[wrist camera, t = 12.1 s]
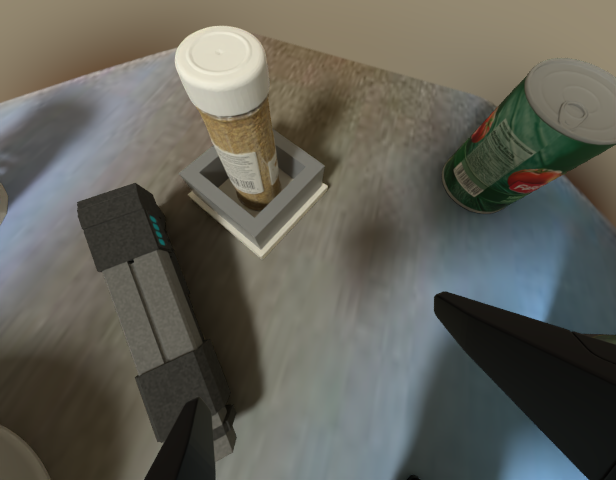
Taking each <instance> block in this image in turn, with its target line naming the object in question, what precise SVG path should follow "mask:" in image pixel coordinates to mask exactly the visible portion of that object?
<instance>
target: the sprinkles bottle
mask: <svg viewBox="0 0 616 480" xmlns="http://www.w3.org/2000/svg"><path fill="white" fill-rule="evenodd" d="M175 65H176V69H177V72H178V74H179V76H180V79H181V81H182V83H183V85H184V88H185V90H186V92H187V94H188V96H189V98H190V100H191V101H192V102H193V104H194V105H195V106H196V108H197V109H198V110H199V112H200V114H201V116H202V118H203V120H204V123H205V125H206V127H207V129H208V132H209V135H210V138H211V141H212V143H213V145H214V147H215V149H216V151H217V153H218V155H219V158H220V160H221V162H222V164H223V166H224V168H225V170H226V172H227V174H228V176H229V179H230V181H231V182H232V184H233V185H234V187H235V189H236V194H237V197H238V199H239V201H240V202H241V203H242V204H243V205H244V206H246V207H248V208H249V209H253V210H263V209H264V208H265V207H266V206H267V205H268V204H269V203H270V202H271V201H272V200H273V199H274V198H275V197H276V196H277V195H278V194H279V193H280V192H281V191H282V189H281V183H280V180H279V175H278V172H279V170H278V162H277V155H276V148H275V140H274V134H273V130H272V125H271V117H270V110H269V103H268V95H269V94H268V91H269V87H270V82H269V73H268V66H267V59H266V54H265V50H264V48H263V46H262V44H261V43H260V41H259V40H258V39H257V38H256V37H255V36H253V35H252V34H250V33H249V32H247V31H245V30H242V29H239V28H235V27H230V26H214V27H208V28H204V29H201V30H198V31H196V32H194V33H193V34H191V35H189V36H188V37H187V38H186V39H184V41H182V43H181V44H180V45H179V47H178V49H177V51H176V55H175Z"/></svg>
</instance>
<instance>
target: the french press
mask: <svg viewBox="0 0 616 480" xmlns="http://www.w3.org/2000/svg"><path fill="white" fill-rule="evenodd" d="M7 206H8V195H7V193H6V191H5V189H4V187H3V185H2V183H0V225H1V223H2V221H3V219H4V217H5V215H6V214H7Z"/></svg>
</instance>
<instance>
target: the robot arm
mask: <svg viewBox="0 0 616 480" xmlns="http://www.w3.org/2000/svg"><path fill="white" fill-rule="evenodd" d="M434 312H435V315H436V316H437V318H438V319H439V320H440V321H441V323H442V324H443V325H444V326H445V328H446V329H447V330H448V331H449V333H450V334H451V335H452V336H453V338H454V339H455V340H456V341H457V343H458V344H459V345H460V346H461V347H462V349H463V350H464V351H465V352H466V353H467V354H468V355H469V356H470V357H471V358H472V359H473V360H474V361H475V362H476V364H477V365H478V366H479V367H480V368H481V369H482V370H483V371H484V372H485V373H486V374H487V375H488V376H489V377H490V378H491V379H492V380H493V381H494V382H495V383H496V384H497V385H498V386H499V387H500V388H501V389H502V390H503V391H504V392H505V394H506V395H507V396H508V397H509V398H510V399H511V400H512V401H513V402H514V403H515V404H516V405H517V406H518V407H519V408H520V409H521V410H522V411H523V412H524V413H525V414H526V415H527V416H528V417H529V418H530V419H531V420H532V421H533V422H534V424H535V425H536V426H537V427H538V428H539V429H540V430H541V431H542V432H543V433H544V434H545V435H546V436H547V437H548V438H549V439H550V440H551V441H552V442H553V443H554V444H555V445H556V446H557V447H558V448H559V449H560V450H561V451H562V452H563V454H564V455H565V456H566V457H567V458H568V459H569V460H570V461H571V462H572V463H573V464H574V465H575V466H576V467H577V468H578V469H579V470H580V471H581V472H582V473H583V474H584V475H585V476H586V477H587V478H588V479H589V480H616V344H613V343H610V342H606V341H603V340H600V339H596V338H593V337H590V336H586V335H583V334H580V333H577V332H574V331H572V332H571V331H570V330H567V329H564V328H561V327H558V326H554V325H551V324H548V323H545V322H542V321H538V320H535V319H532V318H529V317H526V316H522V315H519V314H516V313H513V312H510V311H507V310H503V309H500V308H497V307H494V306H491V305H487V304H484V303H481V302H478V301H475V300H471V299H468V298H465V297H462V296H459V295H455V294H452V293H449V292H441V293H439V294H436V295H435V296H434ZM144 480H215V454H214V440H213V426H212V415H211V411H210V409H209V408H208V407H207V405H206V404H205V403H204V401H203V400H202V399H201V398H200V397H196V398H194V399H192V400H189V401H188V402H186V403H185V405H184V406H183V408H182V410H181V412H180V414H179V416H178V418H177V419H176V421H175V423H174V425H173V427H172V429H171V431H170V432H169V434H168V436H167V438H166V440H165V442H164V444H163V445H162V447H161V449H160V451H159V453H158V455H157V457H156V458H155V460H154V462H153V464H152V466H151V468H150V470H149V471H148V473H147V475H146V477H145V479H144ZM407 480H421V479H419V478H418V477H417V476H416V475H410V476H409V477H408V479H407Z"/></svg>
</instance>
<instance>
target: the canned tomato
mask: <svg viewBox="0 0 616 480" xmlns="http://www.w3.org/2000/svg"><path fill="white" fill-rule="evenodd" d="M614 145H616V77H615V76H613V75H612V74H610V73H609V72H607V71H605V70H603V69H601V68H599V67H597V66H595V65H592V64H590V63H587V62H584V61H580V60H576V59H568V58H555V59H549V60H546V61H543V62H540V63H539V64H537V65H536V66H535V67H533V68H532V70H531V71H530V72H529V73H528V74H527V76H526V77H525V78H524V80H522V81H521V82H520V84H519V85H518V86H517V87H516V88H514V90H513V91H512V92H511V93H510V94H509V95H508V96H507V97H506V98H505V99H504V101H503V102H502V103H501V104H500V105H499V106H498V107H497V108H496V109H495V111H494V112H492V113H491V115H490V116H489V117H488V118H487V119H486V120H485V121H484V122H483V123H482V125H481V126H479V128H478V129H477V130H476V131H475V132H474V133H473V134H472V135H471V136H470V138H468V140H467V141H466V142H465V143H464V144H463V145H462V146H461V147H460V148H459V149H458V150H457V152H456V153H455V154H454V155H453V156H452V157H451V158H450V159H449V160H448V161H447V162H446V163H445V165H444V167H443V170H442V181H443V185H444V187H445V189H446V191H447V193H448V194H449V196H450V197H451V198H452V199H453V200H454V201H455V202H456V203H457V204H459V205H460V206H462V207H463V208H465V209H467V210H469V211H473V212H476V213H482V214H490V213H495V212H498V211H500V210H502V209H504V208H505V207H506V206H508V205H510V204H511V203H513V202H516V201H517V200H519V199H521V198H523V197H524V196H526V195H528V194H530V193H531V192H533V191H535V190H537V189H539V188H540V187H542V186H544V185H546V184H547V183H549V182H550V181H553V180H555V179H556V178H558V177H559V176H561V175H563V174H565V173H567V172H568V171H570V170H572V169H574V168H576V167H577V166H579V165H581V164H582V163H585V162H587V161H588V160H590V159H591V158H593V157H595V156H597V155H599V154H601V153H602V152H604V151H606V150H607V149H609V148H611V147H612V146H614Z"/></svg>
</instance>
